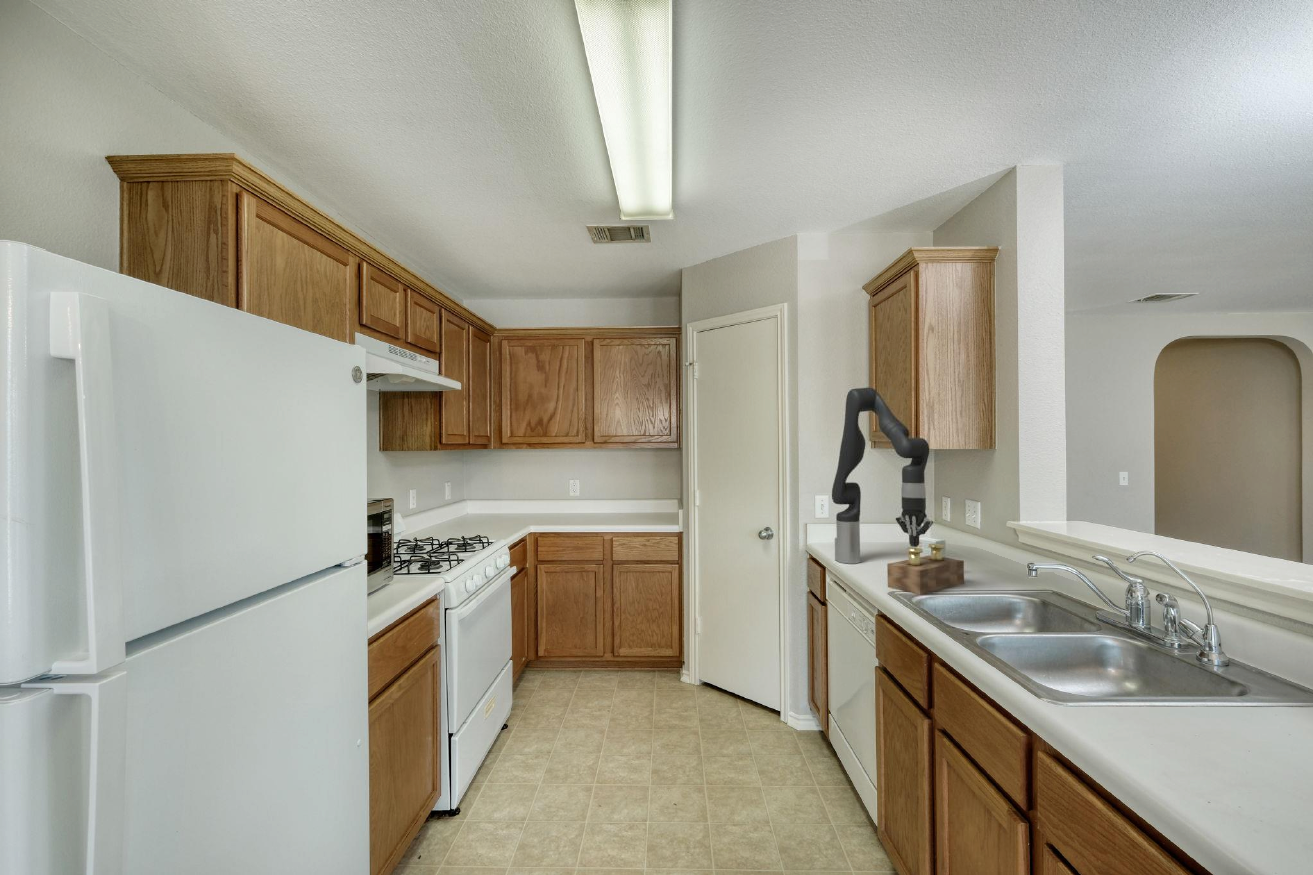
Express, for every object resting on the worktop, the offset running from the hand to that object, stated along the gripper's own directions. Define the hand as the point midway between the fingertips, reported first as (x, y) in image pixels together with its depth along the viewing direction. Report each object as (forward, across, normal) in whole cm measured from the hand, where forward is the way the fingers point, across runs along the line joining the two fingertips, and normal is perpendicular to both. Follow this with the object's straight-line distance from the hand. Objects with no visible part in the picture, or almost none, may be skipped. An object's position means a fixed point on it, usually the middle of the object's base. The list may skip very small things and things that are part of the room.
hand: (914, 546), depth 186 cm
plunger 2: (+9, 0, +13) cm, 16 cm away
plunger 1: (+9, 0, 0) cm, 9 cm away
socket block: (+14, 0, +6) cm, 16 cm away
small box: (+14, -9, +24) cm, 30 cm away
